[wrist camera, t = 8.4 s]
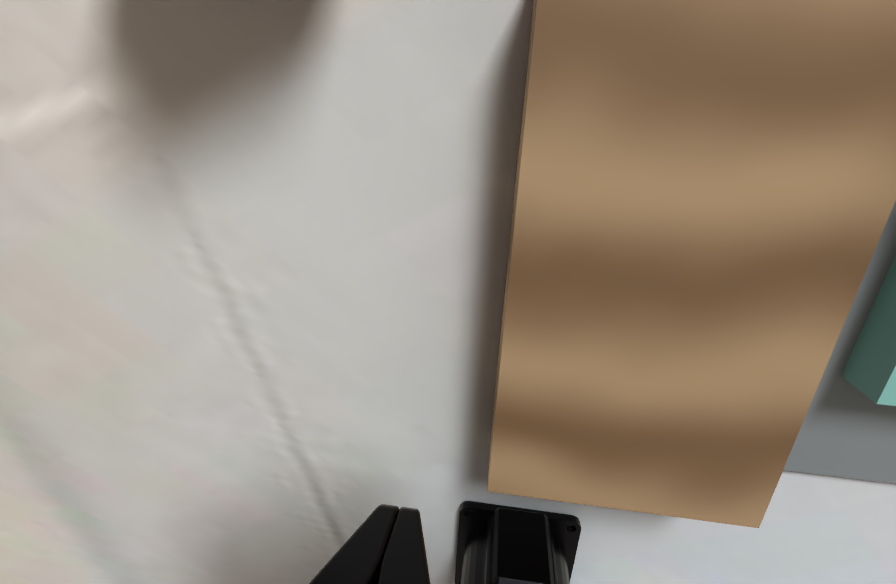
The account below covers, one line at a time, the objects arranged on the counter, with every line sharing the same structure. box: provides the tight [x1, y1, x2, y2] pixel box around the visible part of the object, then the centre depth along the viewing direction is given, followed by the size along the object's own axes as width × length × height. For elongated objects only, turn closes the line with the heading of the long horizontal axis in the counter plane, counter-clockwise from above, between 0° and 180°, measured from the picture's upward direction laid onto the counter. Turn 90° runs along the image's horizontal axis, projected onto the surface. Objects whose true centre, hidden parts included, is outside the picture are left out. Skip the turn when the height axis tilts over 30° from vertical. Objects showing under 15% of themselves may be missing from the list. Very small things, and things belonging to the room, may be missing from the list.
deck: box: [487, 0, 896, 528], centre depth 17 cm, size 20×11×4 cm, turn 177°
